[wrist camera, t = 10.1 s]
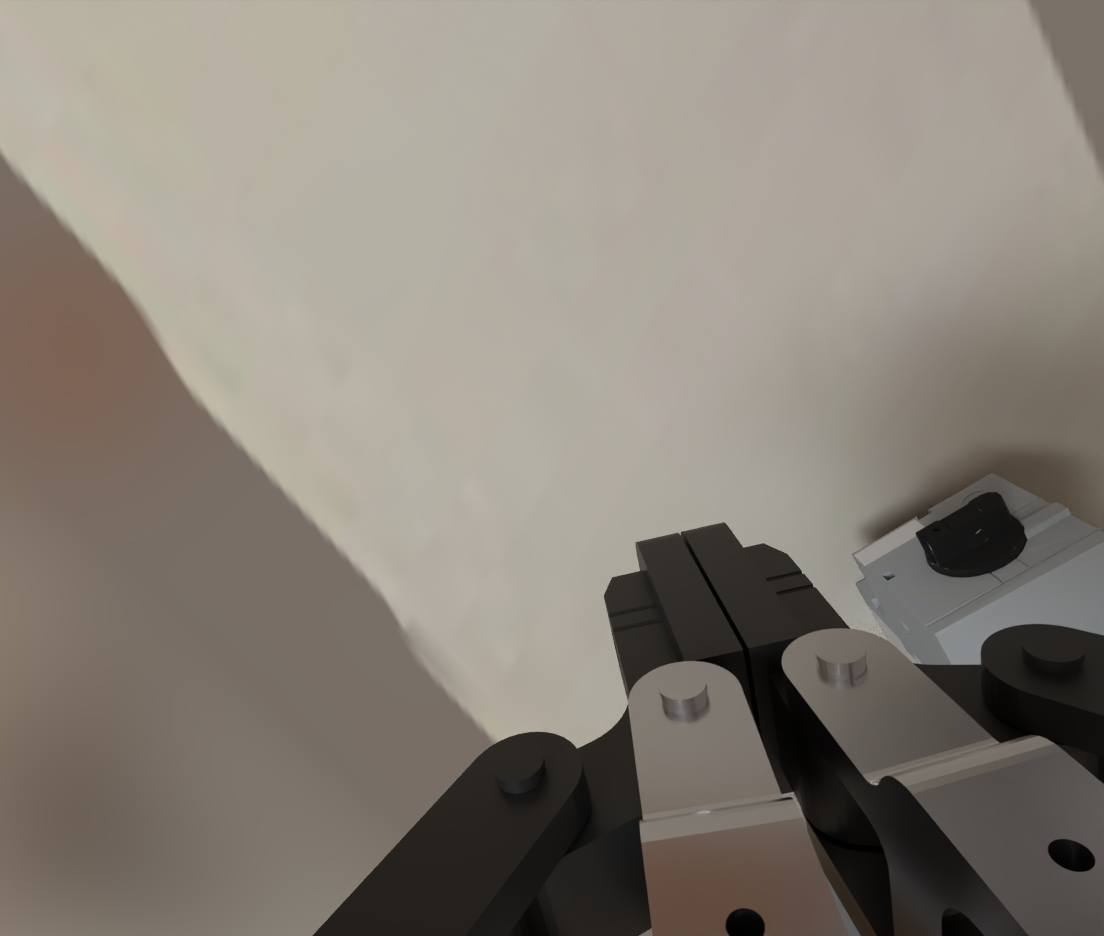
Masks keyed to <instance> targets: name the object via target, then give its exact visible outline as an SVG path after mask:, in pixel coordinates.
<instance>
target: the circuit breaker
mask: <svg viewBox="0 0 1104 936" xmlns="http://www.w3.org/2000/svg"><path fill="white" fill-rule="evenodd" d="M928 513H929V514H928V515H927V516H925V517H923V518H921V519H920V520H919V519H918V517H915V518H913V519H911V520H910V521H908V522H906V523H905V524H903V525H901V526H899V527H898V528H896V529H894V530H893V531H891V532H889V533H887V534H886V535H884V536H882V537H881V538H879V539H877V540H875V541H874V542H872V543H870V544H869V545H867V546H865V547H864V548H862V549H860V550H858V551H857V552H855V553H853V554H852V555H853V557H854V559H855V561H856V563H857V564H858V566H859V568H860V570H861V571H862V573H863V575H864V577H865V579H863V580H862V581H860V582H858V583H856V586H857V588H858V589H859V591H860V593H861V595H862V596H863V598H864V600H865V602H866V603H867V605H868V607H869V608H870V610H871V612H872V614H873V615H874V617H875V619H876V621H877V622H878V624H879V626H880V628H881V629H882V631H883V633H884V634H885V636H886V638H887V640H888V641H889V642H890V643H891V644H893V645H894V646H895V647H896V648H897V649H898V650H899V651H900V652H902V653H903V654H904V655H905V656H906V657H907V658H908V659H909V660H910V661H911V662H912V663H917V664H928V665H981V653H980V652H981V646H982V645H983V643H984V641H985V640H986V639H987V638H988V637H989V636H990V635H992V634H993V633H995V632H997V631H999V630H1002V629H1004V628H1008V627H1012V626H1017V625H1024V624H1050V625H1059V626H1064V627H1070V628H1074V629H1079V630H1083V631H1087V632H1091V633H1095V634H1100V635H1104V531H1102V530H1100V529H1098V528H1097V527H1095V526H1093V525H1091V524H1089V523H1087V522H1085V521H1083V520H1081V519H1079V518H1078V517H1076V516H1074V515H1072V514H1071V512H1070V510H1069V508H1068V507H1066V506H1064V505H1062V504H1060V503H1058V502H1054V503H1053V504H1051V503H1049V502H1047V501H1045V500H1043V499H1041V498H1039V497H1038V496H1036V495H1034V494H1032V493H1030V492H1028V491H1026V490H1024V489H1022V488H1020V487H1018V486H1017V485H1015V484H1013V483H1011V482H1009V481H1007V480H1005V479H1003V478H1001V477H999V476H998V475H996V474H994V473H990V474H989V475H987V476H985V477H983V478H982V479H980V480H978V481H977V482H975V483H973V484H971V485H970V486H968V487H966V488H965V489H963V490H961V491H959V492H958V493H956V494H954V495H953V496H951V497H949V498H947V499H946V500H944V501H942V502H941V503H939V504H937V505H935V506H934V507H932V508H930V509H929V510H928Z"/></svg>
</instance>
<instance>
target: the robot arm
mask: <svg viewBox="0 0 1104 936" xmlns="http://www.w3.org/2000/svg"><path fill="white" fill-rule="evenodd" d="M636 551H637V557H638V562H639V567H640V571H639V572H635V573H630V574H626V575H621V576H617V577H612V579H611V581H610V583H609V586H608V588H607V590H606V592H605V594H604V599H605V603H606V608H607V612H608V617H609V622H610V626H611V631H612V635H613V640H614V644H615V649H616V653H617V658H618V662H619V667H620V671H621V676H622V679H623V683H624V687H625V691H626V695H627V699H628V705H627V708H626V711H625V713H624V714H623V716H622V718H621V719H620V720H619V721H618V723H617V724H616V725H615V726H614V727H613V728H612V729H611V730H609V731H608V732H607V733H605V734H604V735H602V736H601V737H599V738H597V739H596V740H594V741H592V742H590V743H588V744H586V745H584V746H582V747H580V748H578V749H577V748H576V747H575V746H574V745H573V744H572V743H571V742H570V741H569V740H567V739H565V738H564V737H561V736H559V735H556V734H552V733H547V732H528V733H523V734H518V735H515V736H511V737H508V738H506V739H504V740H501V741H499V742H498V743H496V744H494V745H492V746H491V747H489V748H488V749H487V750H485V751H484V752H483V753H482V754H481V755H480V756H479V757H477V758H476V759H475V761H474V762H473V763H472V764H471V765H470V766H469V767H468V768H467V769H466V770H465V771H464V772H463V773H462V775H461V776H460V777H459V778H458V779H457V780H456V781H455V782H454V783H453V784H452V786H451V787H450V788H449V789H448V790H447V791H446V792H445V793H444V794H443V795H442V796H441V797H440V799H438V801H437V802H436V803H435V804H434V805H433V806H432V807H431V808H430V809H429V810H428V811H427V812H426V814H425V815H424V816H423V817H422V818H421V819H420V820H419V821H418V822H417V823H416V824H415V826H414V827H413V828H412V829H411V830H410V831H409V832H408V833H407V834H406V835H405V836H404V837H403V838H402V840H401V841H400V842H399V843H398V844H397V845H396V846H395V847H394V848H393V849H392V850H391V852H390V853H389V854H388V855H387V856H386V857H385V858H384V859H383V860H382V861H381V862H380V863H379V865H378V866H377V867H376V868H375V869H374V870H373V871H372V872H371V873H370V874H369V875H368V876H367V878H365V880H364V881H363V882H362V883H361V884H360V885H359V886H358V887H357V888H356V889H355V891H353V893H352V894H351V895H350V896H349V897H348V898H347V899H346V900H345V901H344V902H343V903H342V904H341V905H340V907H339V908H338V909H337V910H336V911H335V912H334V913H333V914H332V915H331V916H330V918H329V919H328V920H327V921H326V922H325V923H324V924H323V925H322V926H321V927H320V928H319V929H318V931H317V932H316V933H315V934H314V935H313V936H639V935H640V934H642V933H644V932H646V931H647V930H649V929H651V928H652V933H653V936H848V934H847V931H846V928H845V926H844V923H843V921H842V918H841V916H840V913H839V911H838V908H837V905H836V903H835V900H834V898H833V895H832V893H831V890H830V888H829V885H828V882H827V880H826V877H827V879H828V881H829V883H830V884H831V886H832V888H833V889H834V891H835V893H836V895H837V896H838V898H839V900H840V901H841V903H842V905H843V907H844V908H845V910H846V912H847V913H848V915H849V917H850V919H851V920H852V922H853V924H854V925H855V927H856V929H857V930H858V932H859V934H860V936H1104V635H1100V634H1095V633H1091V632H1087V631H1083V630H1079V629H1074V628H1070V627H1064V626H1059V625H1050V624H1024V625H1017V626H1012V627H1008V628H1004V629H1002V630H999V631H997V632H995V633H993V634H992V635H990V636H989V637H988V638H987V639H986V640H985V641H984V643H983V645H982V646H981V652H980V653H981V665H928V664H917V663H912V662H911V661H910V660H909V659H908V658H907V657H906V656H905V655H904V654H903V653H902V652H900V651H899V650H898V649H897V648H896V647H895V646H894V645H893V644H891V643H890V642H889V641H887V640H885V639H883V638H882V637H880V636H877V635H875V634H872V633H868V632H865V631H861V630H855V629H850V628H849V627H848V625H847V624H846V623H845V622H844V621H843V620H842V618H841V617H840V616H839V615H838V614H837V612H836V611H835V610H834V609H833V608H832V606H831V605H830V604H829V603H828V602H827V601H826V599H825V598H824V597H823V596H822V595H821V593H820V592H819V591H818V590H817V589H816V587H815V588H814V587H813V584H812V583H811V582H810V580H809V579H808V578H807V577H806V576H805V574H802V572H801V570H800V568H799V567H798V566H797V565H796V564H795V562H794V561H793V560H792V559H791V558H790V557H789V555H788V554H786V553H784V552H781V551H779V550H777V549H775V548H773V547H770V546H768V545H766V544H764V543H763V544H758V545H754V546H750V547H745V548H743V547H742V545H741V544H740V542H739V541H738V540H737V538H736V537H735V535H734V534H733V533H732V531H731V530H730V529H729V527H728V526H727V524H726V523H724V522H723V523H719V524H714V525H710V526H705V527H701V528H697V529H692V530H688V531H683V532H681V536H680V534H679V533H675V534H671V535H666V536H662V537H657V538H653V539H648V540H644V541H640V542H636ZM790 792H794V794H795V796H796V798H797V800H798V802H799V804H800V806H801V813H802V816H801V814H800V811H799V809H798V807H797V805H796V803H795V801H794V800H793V798H792V797H785V798H783V797H782V794H786V793H790ZM824 874H825V875H824ZM825 876H826V877H825Z"/></svg>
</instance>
